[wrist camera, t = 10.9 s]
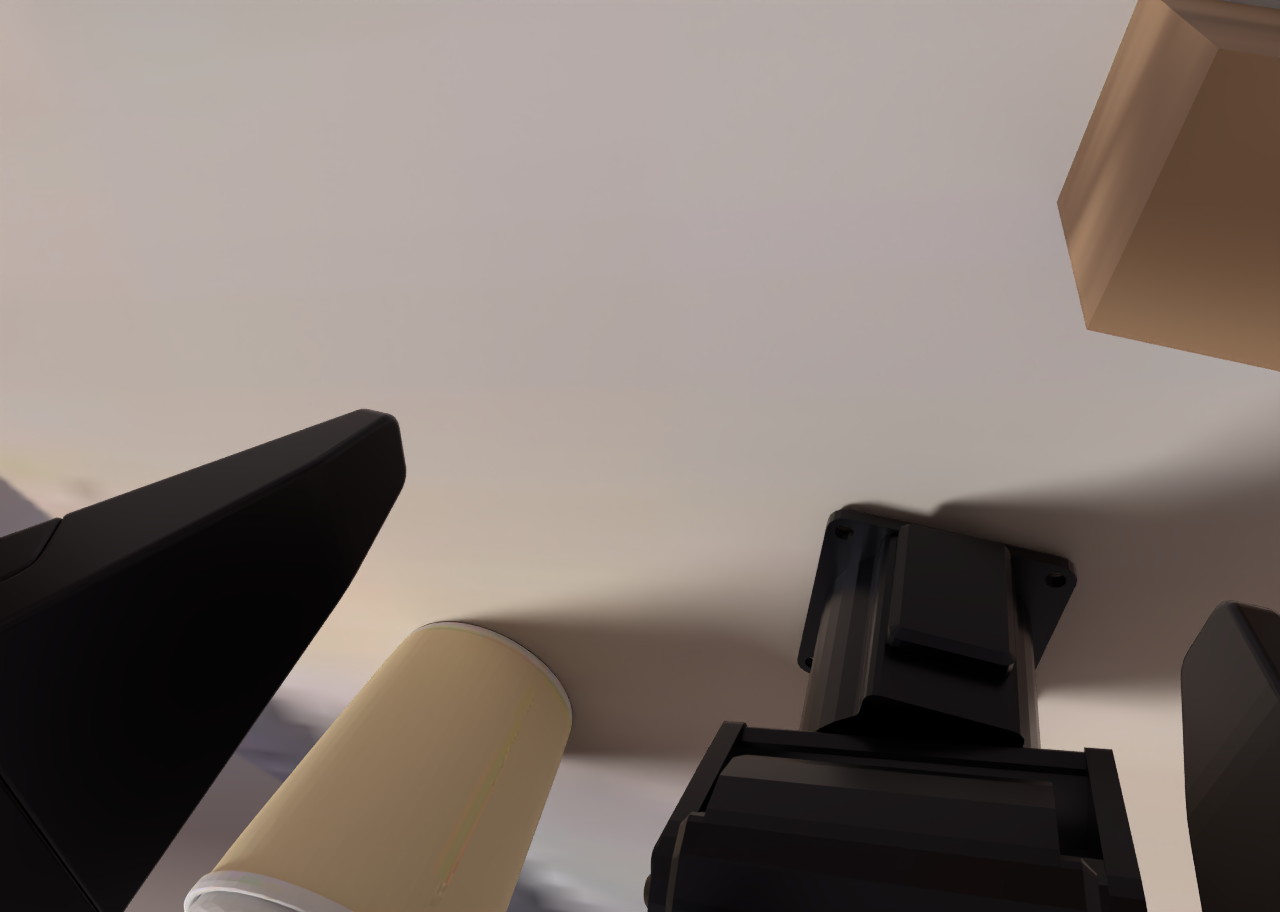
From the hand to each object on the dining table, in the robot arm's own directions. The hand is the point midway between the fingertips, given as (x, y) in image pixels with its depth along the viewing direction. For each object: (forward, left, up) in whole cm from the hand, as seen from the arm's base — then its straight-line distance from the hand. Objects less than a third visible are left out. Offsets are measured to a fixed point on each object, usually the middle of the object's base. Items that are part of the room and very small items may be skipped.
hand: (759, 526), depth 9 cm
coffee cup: (-22, +11, -12) cm, 27 cm away
